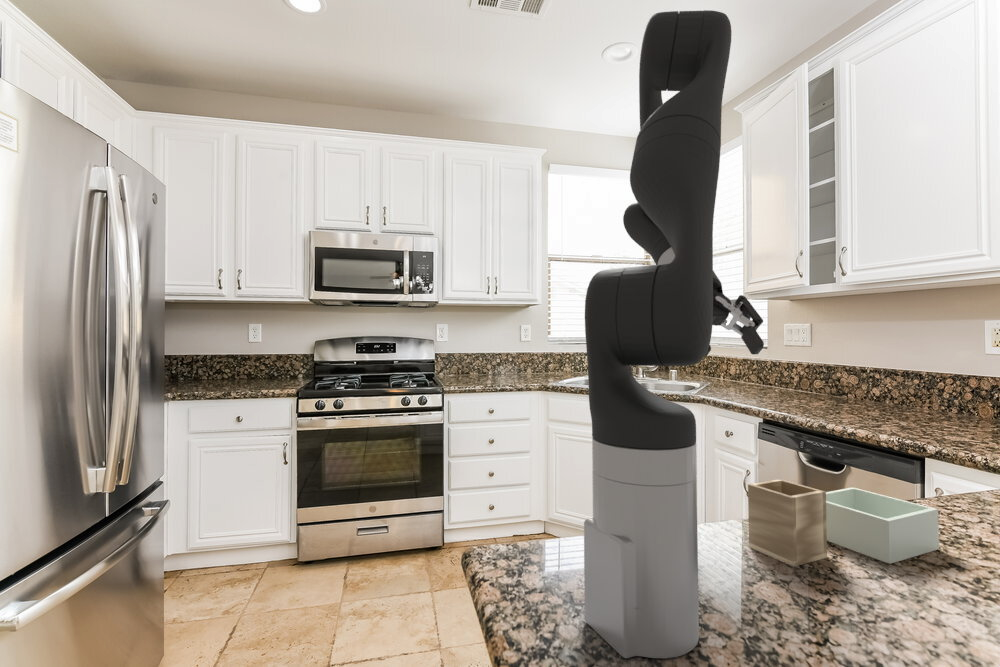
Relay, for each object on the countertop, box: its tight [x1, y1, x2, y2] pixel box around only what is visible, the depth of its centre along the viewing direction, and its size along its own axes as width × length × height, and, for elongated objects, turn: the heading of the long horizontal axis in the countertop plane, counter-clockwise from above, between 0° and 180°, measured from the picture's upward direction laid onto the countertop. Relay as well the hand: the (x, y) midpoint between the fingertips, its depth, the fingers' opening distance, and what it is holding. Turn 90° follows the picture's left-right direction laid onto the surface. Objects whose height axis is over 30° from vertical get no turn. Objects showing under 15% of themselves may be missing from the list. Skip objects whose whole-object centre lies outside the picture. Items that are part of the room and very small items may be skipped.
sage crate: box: [825, 486, 940, 565], centre depth 64 cm, size 10×10×5 cm
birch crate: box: [747, 478, 828, 567], centre depth 61 cm, size 6×6×8 cm
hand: (732, 352), depth 70 cm, fingers open, 8 cm apart
